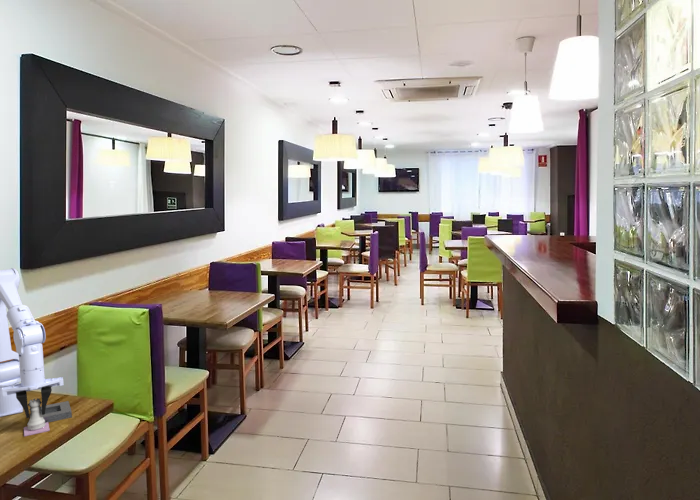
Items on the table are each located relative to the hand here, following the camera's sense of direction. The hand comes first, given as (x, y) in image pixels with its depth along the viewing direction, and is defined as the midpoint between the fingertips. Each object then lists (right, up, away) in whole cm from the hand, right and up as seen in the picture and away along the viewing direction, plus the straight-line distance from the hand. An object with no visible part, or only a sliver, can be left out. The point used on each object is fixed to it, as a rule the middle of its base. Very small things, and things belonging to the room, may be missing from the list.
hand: (35, 415), depth 143 cm
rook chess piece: (0, -4, +1) cm, 4 cm away
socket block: (-2, -3, +10) cm, 11 cm away
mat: (0, -4, 0) cm, 4 cm away
